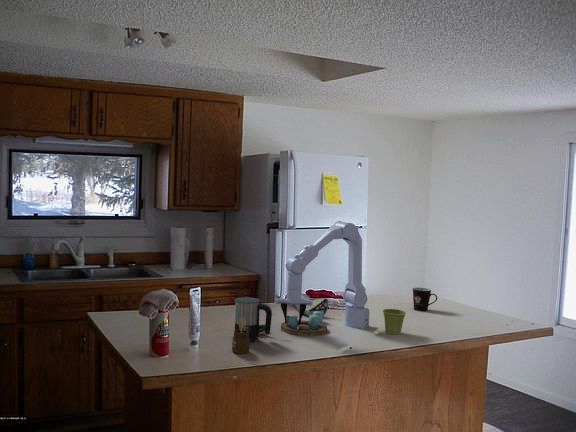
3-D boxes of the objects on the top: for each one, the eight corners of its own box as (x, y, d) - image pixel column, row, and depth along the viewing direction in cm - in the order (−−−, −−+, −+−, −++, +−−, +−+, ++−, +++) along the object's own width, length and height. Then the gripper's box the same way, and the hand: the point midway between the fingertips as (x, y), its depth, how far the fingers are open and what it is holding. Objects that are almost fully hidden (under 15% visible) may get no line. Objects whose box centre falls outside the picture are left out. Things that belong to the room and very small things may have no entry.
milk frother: (235, 343, 219) (237, 302, 218) (227, 331, 234) (229, 293, 233) (273, 342, 222) (275, 302, 221) (264, 331, 237) (266, 293, 237)
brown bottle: (249, 349, 211) (251, 315, 211) (248, 354, 205) (250, 319, 204) (232, 348, 211) (233, 314, 210) (231, 354, 205) (232, 318, 204)
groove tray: (334, 331, 242) (335, 325, 242) (313, 341, 226) (313, 334, 226) (295, 324, 251) (295, 318, 251) (271, 332, 235) (272, 326, 235)
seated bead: (320, 328, 241) (321, 316, 241) (315, 330, 238) (316, 317, 238) (311, 326, 243) (312, 314, 243) (306, 328, 240) (307, 316, 240)
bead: (294, 330, 236) (294, 317, 235) (285, 329, 238) (285, 316, 237) (299, 328, 239) (299, 315, 239) (290, 327, 241) (290, 314, 241)
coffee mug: (407, 308, 293) (409, 287, 293) (422, 307, 297) (423, 287, 296) (422, 313, 283) (424, 292, 282) (437, 312, 286) (439, 291, 286)
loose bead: (324, 324, 254) (324, 312, 253) (319, 325, 250) (320, 313, 250) (315, 322, 256) (316, 310, 255) (311, 324, 252) (311, 312, 252)
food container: (298, 322, 266) (313, 324, 259) (293, 310, 265) (309, 311, 257) (317, 309, 274) (332, 310, 266) (313, 297, 273) (328, 298, 265)
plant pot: (408, 332, 246) (409, 311, 246) (400, 337, 238) (401, 315, 238) (386, 328, 251) (387, 307, 251) (377, 333, 243) (379, 311, 242)
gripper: (312, 287, 241) (310, 321, 242) (276, 285, 241) (274, 319, 242) (313, 291, 234) (311, 325, 235) (275, 289, 234) (273, 323, 235)
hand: (292, 323), depth 238 cm, fingers open, 5 cm apart
